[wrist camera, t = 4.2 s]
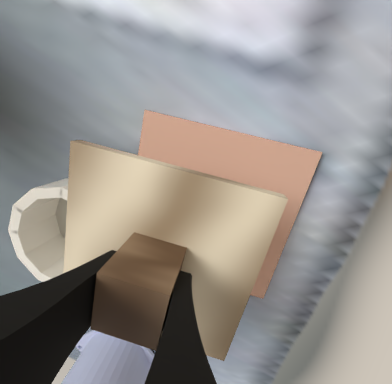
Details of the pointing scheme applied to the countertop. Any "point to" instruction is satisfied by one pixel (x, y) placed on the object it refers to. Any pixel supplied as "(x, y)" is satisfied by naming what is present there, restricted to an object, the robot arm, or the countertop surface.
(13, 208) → the bowl
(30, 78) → the countertop surface
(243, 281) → the lid
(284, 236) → the mat
